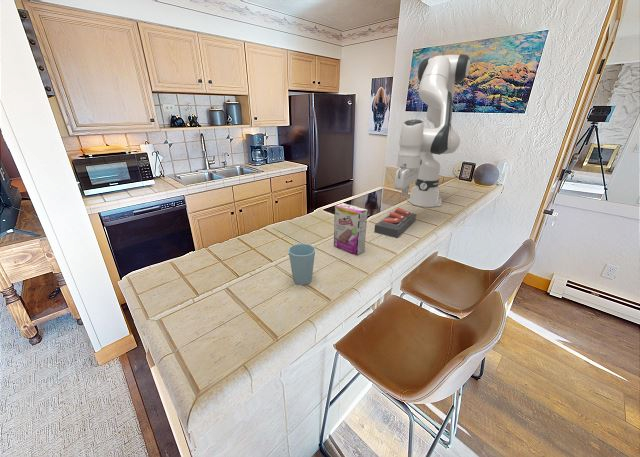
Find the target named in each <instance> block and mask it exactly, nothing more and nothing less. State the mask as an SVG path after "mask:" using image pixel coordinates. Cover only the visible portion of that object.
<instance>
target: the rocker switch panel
mask: <svg viewBox="0 0 640 457" xmlns="http://www.w3.org/2000/svg"><path fill="white" fill-rule="evenodd" d="M393 212H395V213H397V214H400V215H402V216H404V217H405V218H404V219H403V220H400V219H399V221H398V222H397V223H386V222H383V220H384V219H386V218H395V217H392V216H390V214H389V215H387V216H386V217H385V216H384V218H383V219H380V221H378V222H377V223H375V224H374V231H373V232H374V234H379V235H383V236H388V237H391V238H394V239H397V238H399V237H400V236H401V235H402V234H404V233H405V231H407V229H408V228H409V227H411V226H412V225H413V224H414V223H415V222H416V219H417V213H412V212H410V214H409V215H403V214H401V213H398V212H396V211H395V210H393Z"/></svg>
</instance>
